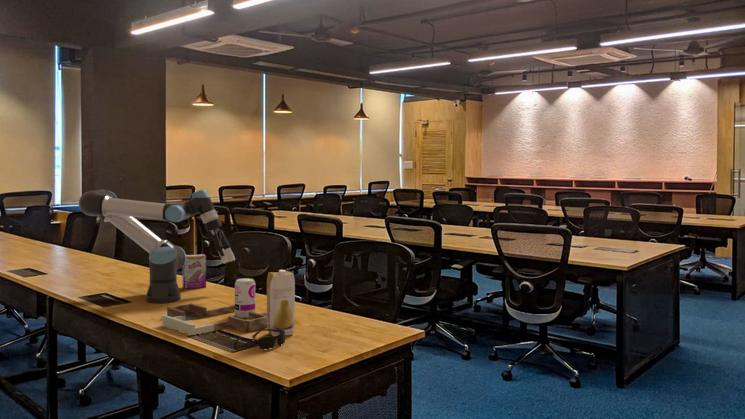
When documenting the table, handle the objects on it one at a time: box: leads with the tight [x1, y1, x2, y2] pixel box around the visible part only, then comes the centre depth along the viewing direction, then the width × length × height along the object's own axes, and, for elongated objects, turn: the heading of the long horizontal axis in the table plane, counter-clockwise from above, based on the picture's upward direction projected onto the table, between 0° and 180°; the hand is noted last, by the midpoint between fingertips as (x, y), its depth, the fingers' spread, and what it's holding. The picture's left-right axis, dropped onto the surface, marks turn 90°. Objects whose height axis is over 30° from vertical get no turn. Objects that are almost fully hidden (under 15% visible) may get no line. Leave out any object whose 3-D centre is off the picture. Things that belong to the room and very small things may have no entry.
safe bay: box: [161, 314, 215, 336], centre depth 229 cm, size 9×20×4 cm, turn 49°
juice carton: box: [266, 269, 296, 336], centre depth 222 cm, size 9×8×24 cm
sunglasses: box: [235, 328, 286, 350], centre depth 211 cm, size 14×16×5 cm
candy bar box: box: [181, 254, 207, 290], centre depth 304 cm, size 11×5×16 cm, turn 115°
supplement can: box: [234, 277, 256, 319], centre depth 248 cm, size 8×8×15 cm
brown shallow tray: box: [166, 302, 267, 333], centre depth 242 cm, size 27×41×4 cm, turn 49°
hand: (229, 261), depth 287 cm, fingers open, 13 cm apart
